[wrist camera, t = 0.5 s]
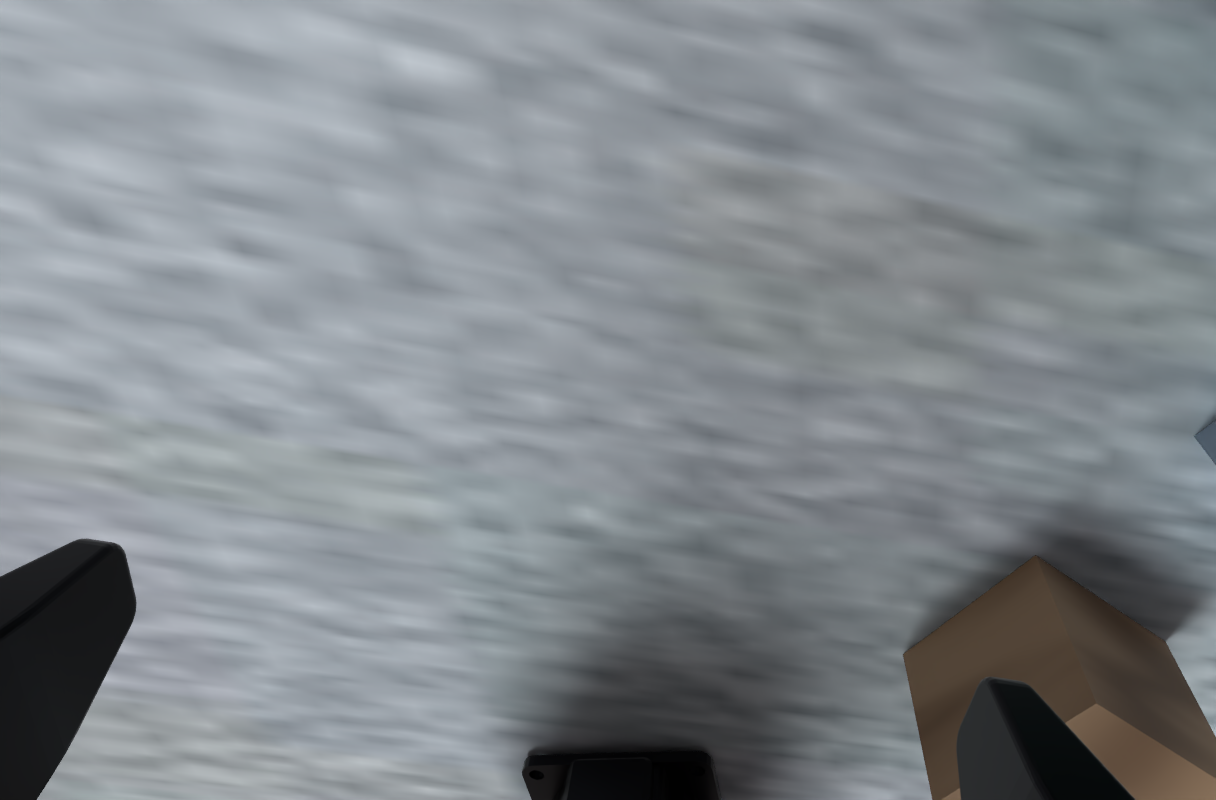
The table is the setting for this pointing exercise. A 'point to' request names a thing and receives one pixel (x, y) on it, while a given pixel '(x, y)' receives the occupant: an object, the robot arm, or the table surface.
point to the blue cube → (1208, 440)
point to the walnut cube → (1066, 684)
